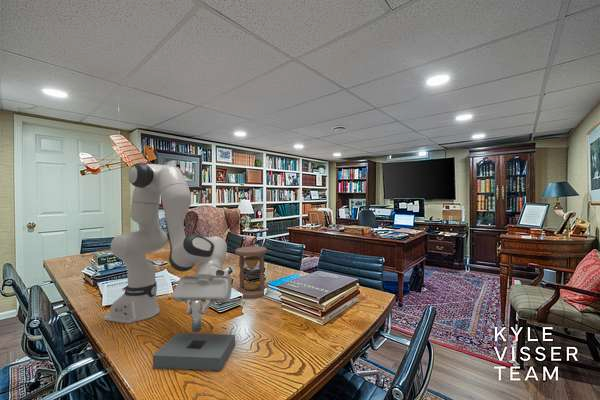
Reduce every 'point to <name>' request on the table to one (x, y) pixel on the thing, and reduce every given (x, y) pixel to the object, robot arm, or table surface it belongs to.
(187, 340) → the hole block
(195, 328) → the peg
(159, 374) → the table surface
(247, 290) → the hourglass
